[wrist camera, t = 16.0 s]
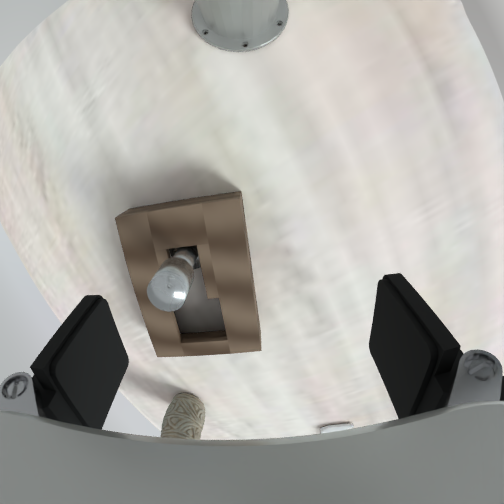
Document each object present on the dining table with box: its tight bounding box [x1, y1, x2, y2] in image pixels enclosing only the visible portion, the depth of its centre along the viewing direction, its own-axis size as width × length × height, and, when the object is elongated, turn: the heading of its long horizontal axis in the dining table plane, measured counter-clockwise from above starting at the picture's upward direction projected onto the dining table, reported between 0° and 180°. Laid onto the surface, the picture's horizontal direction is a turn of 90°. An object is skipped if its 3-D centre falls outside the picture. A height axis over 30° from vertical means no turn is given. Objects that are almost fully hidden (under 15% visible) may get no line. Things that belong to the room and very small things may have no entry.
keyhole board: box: [115, 191, 261, 357], centre depth 42 cm, size 22×16×5 cm
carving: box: [161, 393, 205, 440], centre depth 48 cm, size 6×8×12 cm
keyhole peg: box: [147, 245, 201, 312], centre depth 36 cm, size 6×6×14 cm
